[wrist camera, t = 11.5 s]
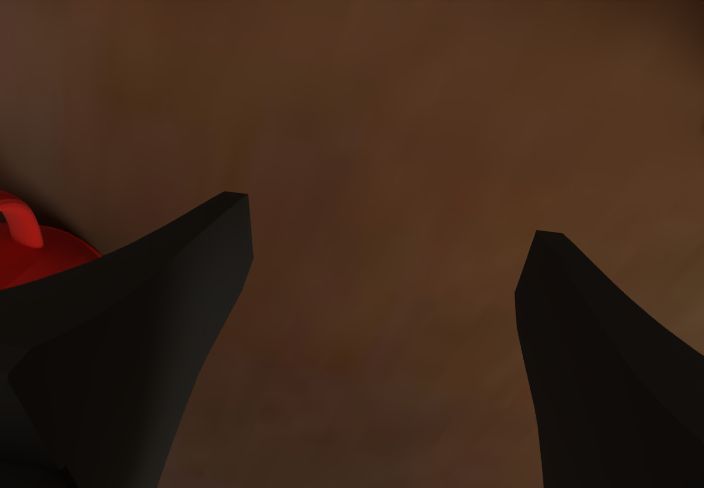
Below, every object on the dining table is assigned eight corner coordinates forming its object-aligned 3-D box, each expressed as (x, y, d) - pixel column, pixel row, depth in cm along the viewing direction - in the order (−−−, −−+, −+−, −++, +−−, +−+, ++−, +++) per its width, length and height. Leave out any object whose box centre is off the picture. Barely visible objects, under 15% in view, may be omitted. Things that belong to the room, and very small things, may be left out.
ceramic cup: (214, 187, 23) (97, 339, 15) (147, 372, 33) (54, 525, 25) (-58, 55, 21) (-359, 150, 13) (-44, 294, 31) (-212, 432, 23)
